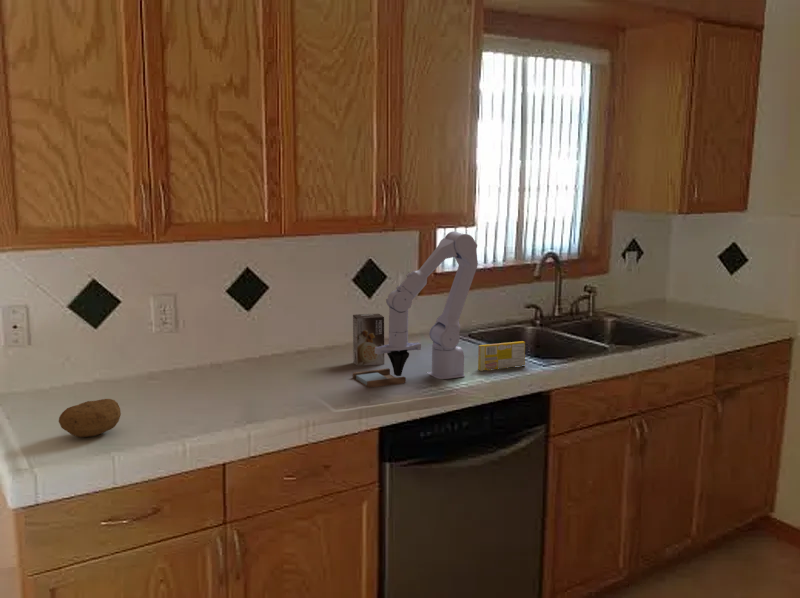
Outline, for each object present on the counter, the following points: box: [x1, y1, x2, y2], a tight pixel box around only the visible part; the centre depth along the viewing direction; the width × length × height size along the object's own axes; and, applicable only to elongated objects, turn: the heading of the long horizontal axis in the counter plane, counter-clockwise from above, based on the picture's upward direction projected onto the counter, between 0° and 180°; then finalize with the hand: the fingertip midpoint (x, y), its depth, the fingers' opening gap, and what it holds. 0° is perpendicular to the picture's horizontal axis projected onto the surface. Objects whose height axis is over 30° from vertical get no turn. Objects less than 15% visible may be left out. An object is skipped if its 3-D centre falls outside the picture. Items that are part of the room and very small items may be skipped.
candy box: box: [477, 340, 526, 372], centre depth 248 cm, size 16×2×8 cm, turn 112°
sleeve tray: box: [352, 367, 407, 389], centre depth 231 cm, size 12×11×2 cm
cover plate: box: [356, 373, 388, 386], centre depth 230 cm, size 7×8×1 cm
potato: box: [58, 398, 122, 438], centre depth 183 cm, size 10×14×8 cm
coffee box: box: [352, 313, 385, 367], centre depth 250 cm, size 9×6×16 cm
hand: (397, 375), depth 233 cm, fingers closed
